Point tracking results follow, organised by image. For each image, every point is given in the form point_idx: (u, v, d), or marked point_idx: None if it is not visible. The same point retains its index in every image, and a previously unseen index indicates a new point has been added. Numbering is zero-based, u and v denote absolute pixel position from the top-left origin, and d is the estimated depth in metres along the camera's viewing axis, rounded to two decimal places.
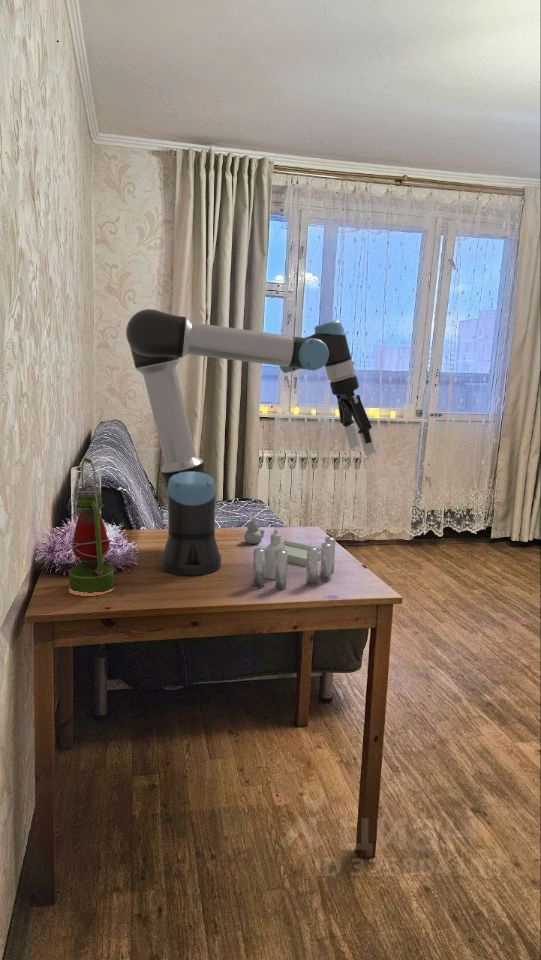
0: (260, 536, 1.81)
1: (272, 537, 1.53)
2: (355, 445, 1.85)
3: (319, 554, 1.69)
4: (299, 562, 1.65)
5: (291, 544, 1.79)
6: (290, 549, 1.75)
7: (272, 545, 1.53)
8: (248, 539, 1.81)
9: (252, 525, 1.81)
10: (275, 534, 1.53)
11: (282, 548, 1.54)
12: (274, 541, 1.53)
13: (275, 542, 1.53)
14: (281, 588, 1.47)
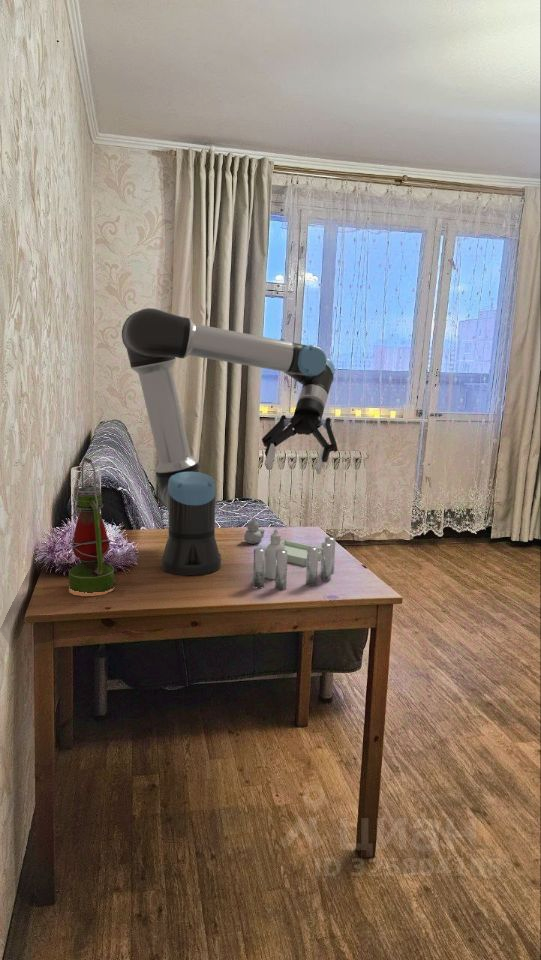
0: (260, 536, 1.81)
1: (272, 537, 1.53)
2: (269, 465, 1.64)
3: (319, 554, 1.69)
4: (299, 562, 1.65)
5: (291, 544, 1.79)
6: (290, 549, 1.75)
7: (272, 545, 1.53)
8: (248, 539, 1.81)
9: (252, 525, 1.81)
10: (275, 534, 1.53)
11: (282, 548, 1.54)
12: (274, 541, 1.53)
13: (275, 542, 1.53)
14: (281, 588, 1.47)
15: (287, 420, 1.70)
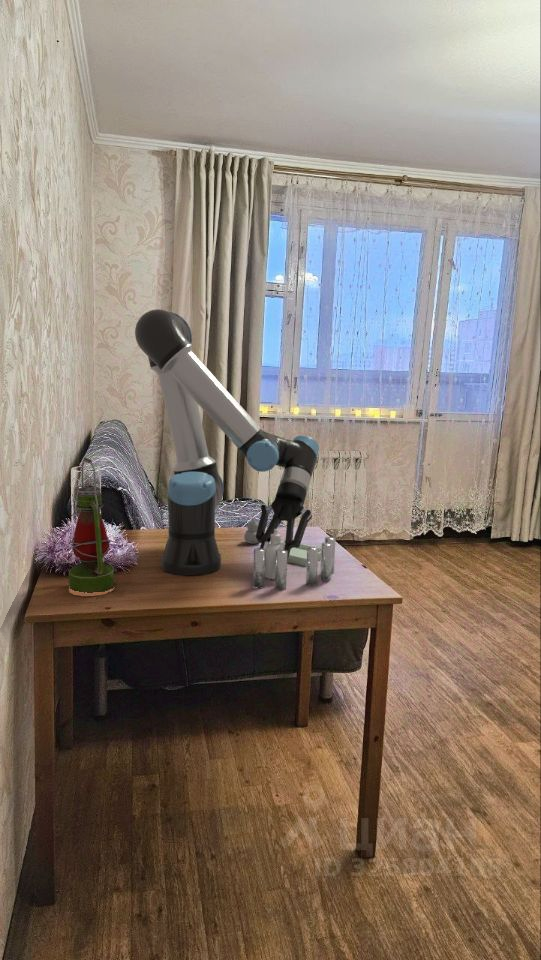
0: None
1: (272, 537, 1.53)
2: None
3: (319, 554, 1.69)
4: (299, 562, 1.65)
5: None
6: None
7: (272, 545, 1.53)
8: (248, 539, 1.81)
9: (252, 525, 1.81)
10: (275, 534, 1.53)
11: None
12: (274, 541, 1.53)
13: (275, 542, 1.53)
14: (281, 588, 1.47)
15: (268, 508, 1.61)
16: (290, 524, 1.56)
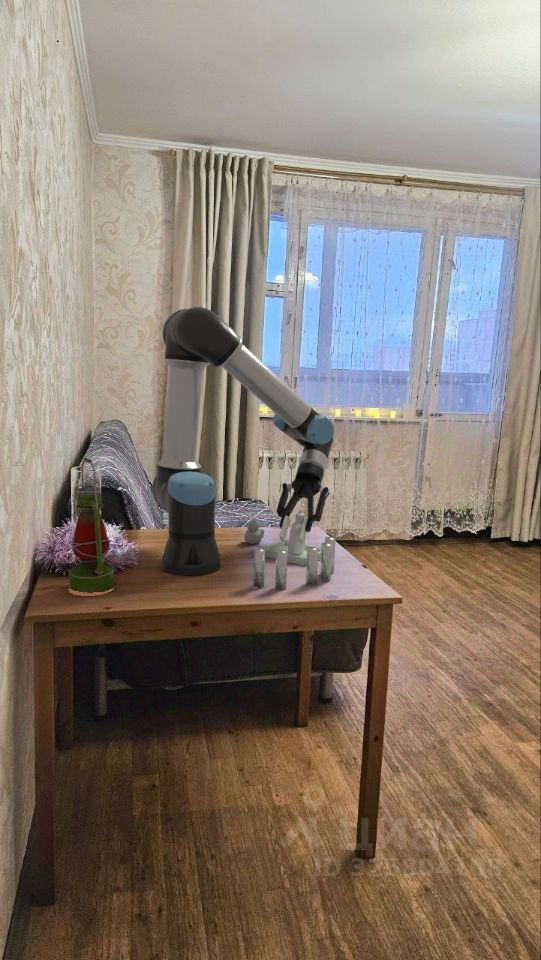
0: (260, 536, 1.81)
1: (297, 516, 1.70)
2: (283, 538, 1.69)
3: (319, 554, 1.69)
4: (299, 562, 1.65)
5: None
6: None
7: (297, 523, 1.70)
8: (248, 539, 1.81)
9: (252, 525, 1.81)
10: (300, 513, 1.70)
11: None
12: (298, 520, 1.70)
13: (300, 520, 1.70)
14: (281, 588, 1.47)
15: (289, 486, 1.78)
16: (310, 500, 1.72)
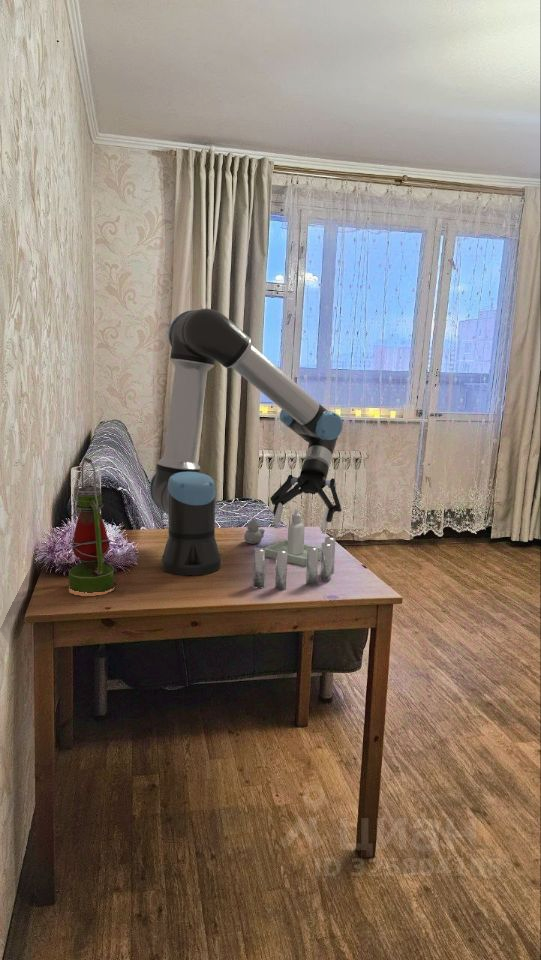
0: (260, 536, 1.81)
1: (294, 516, 1.70)
2: (276, 524, 1.74)
3: (319, 554, 1.69)
4: (299, 562, 1.65)
5: None
6: None
7: (294, 524, 1.70)
8: (248, 539, 1.81)
9: (252, 525, 1.81)
10: (296, 514, 1.70)
11: (302, 526, 1.71)
12: (295, 520, 1.70)
13: (297, 520, 1.70)
14: (281, 588, 1.47)
15: (294, 479, 1.81)
16: (323, 493, 1.75)
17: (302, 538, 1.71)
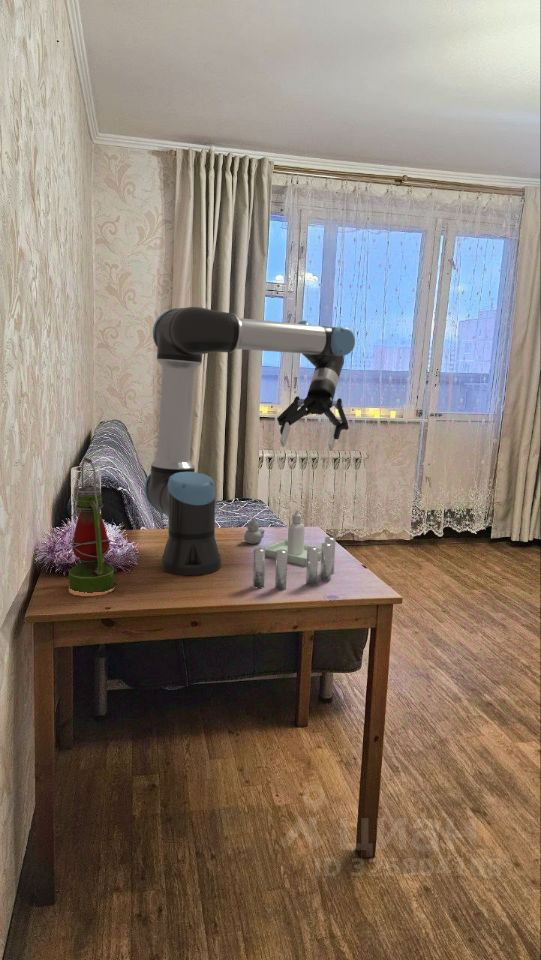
0: (260, 536, 1.81)
1: (294, 517, 1.70)
2: (284, 443, 1.75)
3: (319, 554, 1.69)
4: (299, 562, 1.65)
5: None
6: None
7: (294, 524, 1.70)
8: (248, 539, 1.81)
9: (252, 525, 1.81)
10: (296, 514, 1.70)
11: (303, 527, 1.71)
12: (295, 521, 1.69)
13: (297, 521, 1.70)
14: (281, 588, 1.47)
15: (301, 401, 1.81)
16: (330, 412, 1.75)
17: (302, 538, 1.71)
